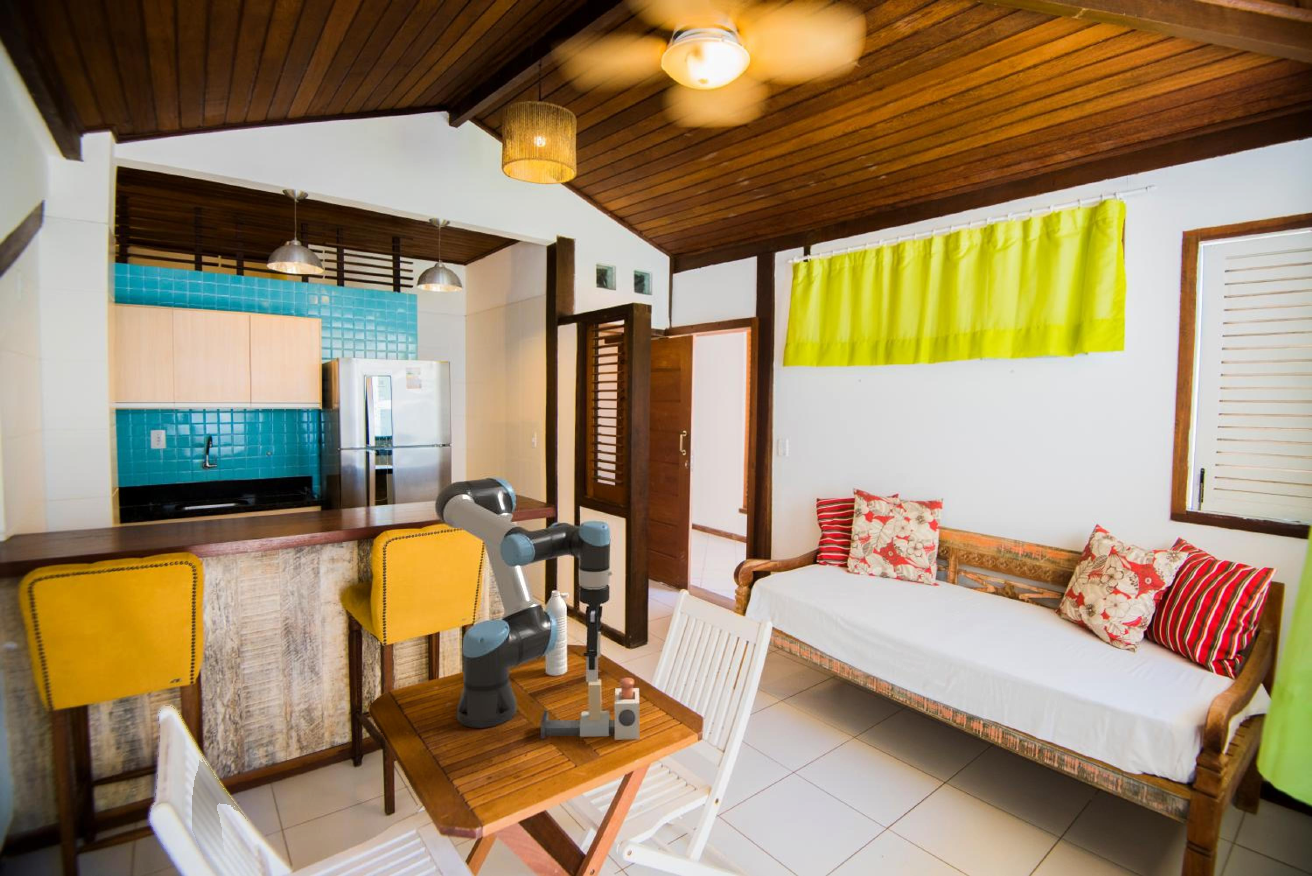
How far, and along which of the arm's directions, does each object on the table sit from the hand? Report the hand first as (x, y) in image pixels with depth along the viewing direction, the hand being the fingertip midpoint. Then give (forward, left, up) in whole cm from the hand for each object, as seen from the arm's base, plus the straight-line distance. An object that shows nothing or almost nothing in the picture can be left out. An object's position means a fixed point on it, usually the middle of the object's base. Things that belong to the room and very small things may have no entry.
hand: (593, 668), depth 153 cm
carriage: (0, 0, -16) cm, 16 cm away
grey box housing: (+8, 0, -16) cm, 18 cm away
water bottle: (-13, +34, -16) cm, 39 cm away
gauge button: (+8, 0, -9) cm, 13 cm away
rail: (-3, 0, -16) cm, 16 cm away
